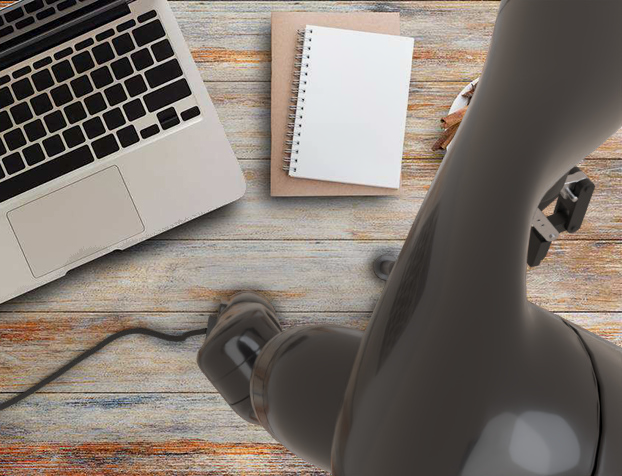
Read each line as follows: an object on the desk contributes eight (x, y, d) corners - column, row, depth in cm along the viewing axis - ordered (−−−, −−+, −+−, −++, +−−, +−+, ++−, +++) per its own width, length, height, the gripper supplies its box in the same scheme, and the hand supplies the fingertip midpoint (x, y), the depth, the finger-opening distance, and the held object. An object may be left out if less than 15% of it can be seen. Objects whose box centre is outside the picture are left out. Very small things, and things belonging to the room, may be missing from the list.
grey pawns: (368, 292, 87) (381, 298, 79) (375, 252, 87) (388, 254, 79) (411, 300, 87) (428, 306, 79) (418, 260, 87) (436, 262, 79)
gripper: (455, 177, 39) (429, 311, 51) (648, 142, 40) (579, 284, 51) (419, 120, 45) (403, 253, 56) (589, 90, 45) (538, 229, 56)
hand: (486, 268), depth 54 cm, fingers open, 8 cm apart
